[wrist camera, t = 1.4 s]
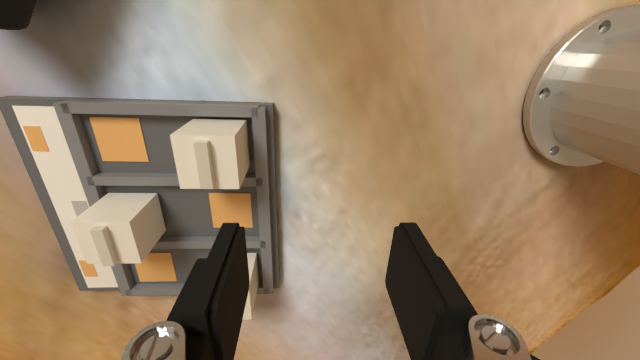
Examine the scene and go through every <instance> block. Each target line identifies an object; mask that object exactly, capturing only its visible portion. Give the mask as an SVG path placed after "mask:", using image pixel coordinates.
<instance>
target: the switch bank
mask: <svg viewBox="0 0 640 360" xmlns="http://www.w3.org/2000/svg"><path fill="white" fill-rule="evenodd" d="M0 110H1V112H2V114H3V117H4V119H5V121H6V123H7V126H8V128H9V130H10V133H11V135H12V137H13V139H14V142H15V144H16V146H17V149H18V151H19V153H20V155H21V158H22V160H23V162H24V165H25V167H26V169H27V171H28V174H29V176H30V178H31V181H32V183H33V185H34V187H35V190H36V192H37V194H38V197H39V199H40V201H41V203H42V206H43V208H44V210H45V213H46V215H47V217H48V219H49V222H50V224H51V226H52V229H53V231H54V233H55V235H56V238H57V240H58V242H59V244H60V247H61V249H62V251H63V254H64V256H65V258H66V260H67V263H68V265H69V267H70V270H71V272H72V274H73V276H74V279H75V281H76V283H77V286H78V288H79V290H80V291H99V290H120V293H121V296H125V295H127V296H168V295H179V294H180V292H181V290H182V288H183V286H184V284H185V282H186V280H187V278H188V276H189V274H190V272H191V270H192V268H193V266H194V264H195V262H196V260H197V259H199V258H207V257H208V255H209V253H210V250H211V248H212V246H213V244H214V241H215V239H216V237H217V235H218V233H219V230H220V228H221V226H222V224H223V223H239V225H240V227H244V228H245V237H246V247H247V253H257V265H258V279H259V284H258V289H257V294H269V293H273V292H274V288H279V281H280V279H279V248H278V218H277V188H276V158H275V127H274V103H261V102H223V101H184V100H145V99H107V98H68V97H29V96H5V97H0ZM192 119H238V120H247V131H248V144H249V158H250V166H249V169H248V171H247V173H246V175H245V178H244V180H243V182H242V185H241V187H240V189H180V185H179V180H178V175H177V170H176V165H175V160H174V154H173V149H172V144H171V139H170V134H172V133H173V132H175V131H176V130H178V129H179V128H181V127H182V126H184V125H185V124H186V123H188V122H189V121H191V120H192ZM108 193H157V194H158V198H159V202H160V207H161V211H162V215H163V219H164V224H165V228H166V231H165V232H164V233H163V235H162V236H161V237H160V239H159V240H158V242H157V243H156V244H155V246H154V247H153V248H152V250H151V251H150V252H149V254H148V255H147V257H146V258H145V259H144V261H143V262H142V263H130V264H115V266H103V265H102V264H87V262H86V260H85V257H84V255H83V253H82V250H81V248H80V245H79V243H78V240H77V238H76V235H75V233H74V230H73V228H72V225H71V223H70V222H71V221H72V220H74V219H75V218H76V217H78V216H79V215H80V214H82V213H83V212H84V211H85V210H87V209H88V208H89V207H91V206H92V205H93V204H95V203H96V202H97V201H98V200H100V199H101V198H102V197H104V196H105V195H106V194H108Z"/></svg>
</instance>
